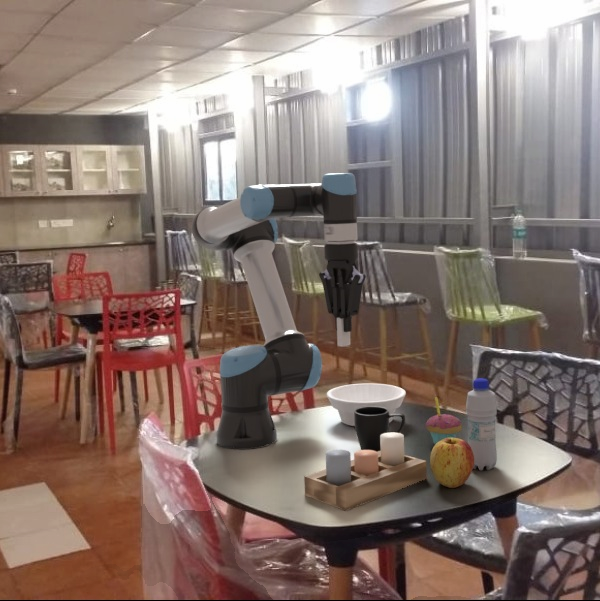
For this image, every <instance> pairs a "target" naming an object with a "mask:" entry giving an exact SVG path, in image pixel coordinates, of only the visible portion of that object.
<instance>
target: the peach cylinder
mask: <svg viewBox="0 0 600 601" xmlns="http://www.w3.org/2000/svg"><path fill="white" fill-rule="evenodd" d="M353 460H354V470H355V472H356V473H359V474H362V475H365V476H368V475H371V474H374V473H377V472H379V467H378V452H376V451H373V450H361V449H360V450H356V451H355V452H354V453H353Z"/></svg>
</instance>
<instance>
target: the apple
mask: <svg viewBox="0 0 600 601" xmlns="http://www.w3.org/2000/svg"><path fill="white" fill-rule="evenodd" d="M429 461H430V462H429V463H430V464H429V465H430V468H431V471H432V473H433V476H434V478H435V479H436V481H437V482H438V483H439V484H441V485H442V486H444V487H446V488H449V489H454V488H459V487H462V485H463V484H465V483H466V481H468V479H469V478H470V476H471V474H472V472H473V470H474V469H473V466H474V455H473V451H472V449H471V447H470V445H469V444H468V441H466V440H464V439H461V438H458V437H456V438H445V439H443V440H441V441H439V442H438V443H436V444H434V446H433V448H432V450H431V452H430V458H429Z"/></svg>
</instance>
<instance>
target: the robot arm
mask: <svg viewBox="0 0 600 601" xmlns="http://www.w3.org/2000/svg"><path fill="white" fill-rule="evenodd" d="M321 178H322V179H321V182H319V183H318V182H317V183H314V182H311V183H293V184H255V185H248V186H246V187H245V188H244V189H243V190H242V192H241V195H240V196H239V197H236V198H235V199H233V200H231V201H228V202H226V203H224V204H222V205H219V206H218V207H215V206H209V207H206V208H203V209H202V210H200V211H199V212H197V213H196V214H195V216H194V217H193V218H192V221H191V230H190V231H191V233H192V236H193V238H194V240H195V241H196V243H198V244H199V245H200V246H201V247H203V248H205V249H207V250H211V251H219V252H220V251H231V253H232V254H233V258H234V260H235V261H236V262H239V263H241V266H242V270H243V271H244V272H243V273H244V274H245V279H246V282H247V285H248V288H249V291H250V295H251V298H252V302H253V303H254V307H255V310H256V313H257V317H258V320H259V323H260V327H261V331H262V333H263V336H264V339H265V342H264V343H263V345H260V344H253V345H252V344H251V345H244V346H238V347H235V348H232V349H230V350H228V351H226V352H224V354H222V355H221V357H220V361H219V363H220V365H219V376H220V390H221V391H220V392H221V395H220V396H221V416H220V418H219V419H220V420H219V424H218V427H217V431H216V444H218V445H219V446H220V447H224V448H226V449H234V450H235V449H237V450H249V449H257V448H262V447H266V446H269V445H271V444H273V443H275V442H276V441H277V439H278V437H277V435H278V434H277V428H276V426H275V422H274V419H273V417H272V414H271V412H270V408H269V397H272V396H276V395H283V394H289V393H295V392H302V391H304V390H309V389H311V388H312V389H313V388H314V387H316V385H317V384H318V382H319V381H320V379H321V375H322V370H323V369H322V368H323V360H322V355H321V350H320V349H319V348H318V346H316V344H314V343H311V342H309V343H308V341H307V339H306V335H305V334H304V333H302V332H301V331H298V330H297V327H296V324H295V321H294V320H295V319H294V318H293V314H292V312H291V309H290V305H289V302H288V299H287V297H286V294H285V290H284V286H283V284H282V280H281V278H280V275H279V272H278V268H277V266H276V262H275V260H274V257H273V254H272V253H273V251H274V250H275V248H276V245H275V244H276V243H277V241H278V237H279V232H278V230H279V229H278V224H277V221H276V219H280V218H299V217H301V218H302V217H317V216H318V217H323V236H324V237H323V240H324V242H326V243H325V244H324V246H323V247H324V250H323V251H324V259H325V260H326V261H327V263H326V264H327V265H326V269H325V270H324V271H322V272H321V271H320V272H319V273H318V274H319V278H320V280H321V282H322V288H323V293H324V297H325V303H326V308H327V313H328V314H329V315H330V314H331V315H332V316H333V317H334V318H335V320H334V321H335V322H334V323H335V330H336V340H337V342H336V343H337V347H341V348H343V347H347V346H351V332H352V326H353V325H352V318H353V317H354V316H357V315H358V314H359V312H360V311H359V310H360V304H361V298H362V293H363V292H362V291H363V285H364V282H365V280H366V274H365V273H361V272H359V270H358V266H357V262H356V261H357V259H358V257H359V249H358V248H359V247H358V246H359V244H358V242H356V241H358V212H357V211H358V209H357V208H358V207H357V206H358V205H357V199H358V198H357V192H358V190H357V186H356V183H357V182H356V177H355V174H353V173H352V172H347V173H346V172H345V173H344V172H341V173H340V172H336V173H334V172H333V173H325V174H324V175H323V176H322V177H321Z"/></svg>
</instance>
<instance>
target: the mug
mask: <svg viewBox="0 0 600 601" xmlns="http://www.w3.org/2000/svg"><path fill="white" fill-rule="evenodd" d="M391 417H393V418H394V417H400V418H401V423H400V425H399V428H398V429H397V431H396V433H401V432H402V429H403V428H404V427H405V423H406V415H405V414H403V413H394V414H389V410H388V409H386V408H383V407H375V406H369V407H361V408H358V409H356V410H355V411H354V422H355V426H354V429H355V434H356V438H357V441H358V444H359V446H360V447H359V448H360V450H373V451H376V452H378V451H381V446H380V435H381V434H384V433H389V429H390V428H389V427H390V423H389V418H391Z"/></svg>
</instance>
